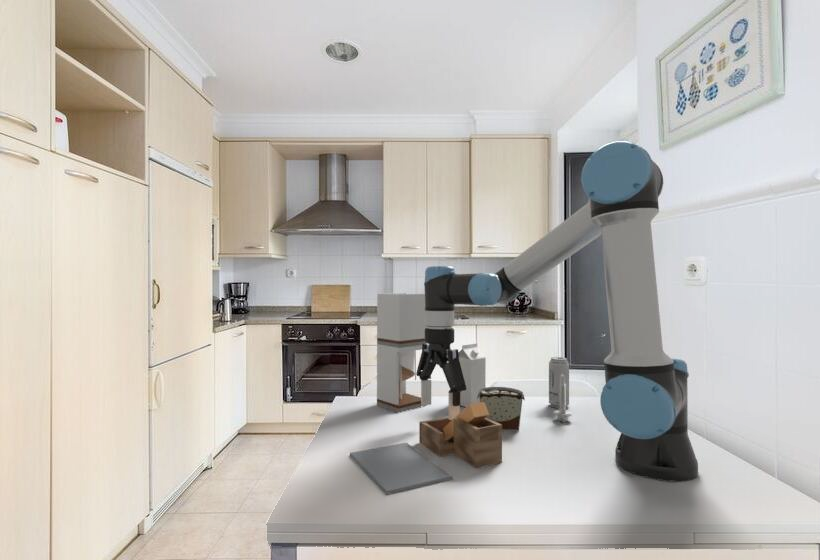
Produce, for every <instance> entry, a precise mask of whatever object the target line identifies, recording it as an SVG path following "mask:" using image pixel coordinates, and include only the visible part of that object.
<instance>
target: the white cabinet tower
mask: <svg viewBox="0 0 820 560" xmlns="http://www.w3.org/2000/svg"><path fill="white" fill-rule="evenodd" d="M376 297H377V303H376V305H377V308H376V309H377V310H376V312H377V313H376V316H377V317H376V319H377V320H376V323H377V324H376V336H377V337H376V406H378V407H381V408H383V407H384V409H386V408H387V410H389V409H390V411H392V410H394V411H393V412H395V411H396V413H398V412H400V413H403V412H402V411H404V412H407V411H406V410H408V411H411V410H410V409H412V410H414V408H415V409H419V408H422V407H421V406H422V405H421V396H418V395H414V394H410V393H407V380H409V379H411V378H413V377H414V376H415V375H416V351H419V350H420V351H422V344H425V343H426V342H425V328H427V326H425V293H405V292H402V293H400V292H398V293H397V292H395V293H377V295H376ZM418 407H419V408H418ZM423 407H426V405H424V406H423Z"/></svg>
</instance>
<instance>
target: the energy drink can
mask: <svg viewBox="0 0 820 560" xmlns="http://www.w3.org/2000/svg"><path fill="white" fill-rule="evenodd" d="M562 374H563V375H565V384H566V385H565V386H566V407H567V408H568V406H569V405H570V363H569V361H568V358H566V357H563V356H554V357H553V356H552V357H550V360H549V362H548V403H549V404H550V407H552V408H554V407H556V408H555V409H560V402H559V401H560V400H559V399H560V398H559V397H560V396H559V395H560V394H559V393H560V377H561V375H562Z"/></svg>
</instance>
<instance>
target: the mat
mask: <svg viewBox="0 0 820 560" xmlns="http://www.w3.org/2000/svg"><path fill="white" fill-rule="evenodd" d="M349 457H351V458H352V459H353V460H354V461H355V463H356V464H358V466H359V467H360V468H361V469H362V470H363V471H364V472H365V473H366V474H367V475H368V476H369V477H370V478H371V479H372V480H373V482H374V483H375V484H376V485H377V486H378V487H379V488H380V489H381V491H383V492H384V493H385V494H386V495H391V494H394V493H398V492H399V493H400V492H403V491H408V490H411V489H416V488H421V487H424V486H428V485H429V486H430V485H432V484H437V483H441V482H444V481H445V482H446V481H449V480H453V475H451V473H449V472H448V471H446V470H445V469H444V468H442V467H441V466H439V465H438V464H437V463H435V462H434V461H433V460H432V459H430V458H429V457H427V456H426V455H424V454H423V453H422V452H420V450H419V451H418V450H417V449H416V448H415V447H413V445H410V444H409V443H407V442H403V443H402V442H401V443H396V444H391V445H386V446H380V447H375V448H369V449H362V450H358V451H353V452H350V453H349Z"/></svg>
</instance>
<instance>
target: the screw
mask: <svg viewBox="0 0 820 560" xmlns="http://www.w3.org/2000/svg"><path fill="white" fill-rule="evenodd" d="M565 385H566V384H565V375H563V374H562V375H561V377H560V393H559V394H560V395H559V396H560V397H559V398H560V399H559V400H560V401H559V402H560V408H559V409H555V410H553V415H555V416H556V417H557V421H558V420H559V421H558V422H561V421H562V423H566V421H567V422H569V421H568V420H569V417H571V416H572V415H573V414H572V412H570V411H569V410H567V408H566V386H565Z"/></svg>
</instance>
